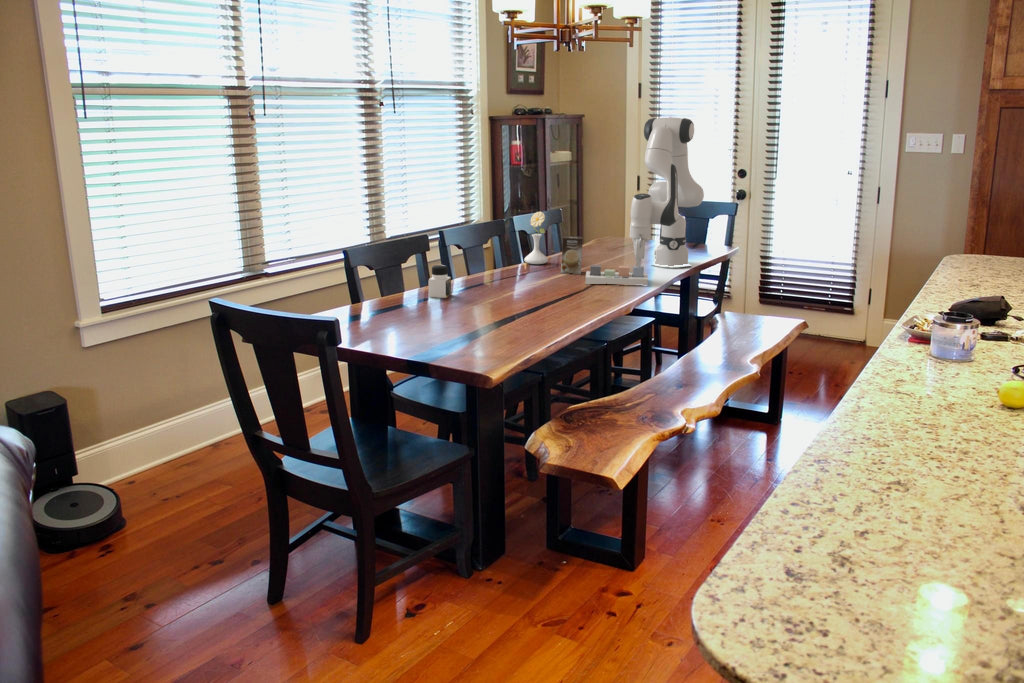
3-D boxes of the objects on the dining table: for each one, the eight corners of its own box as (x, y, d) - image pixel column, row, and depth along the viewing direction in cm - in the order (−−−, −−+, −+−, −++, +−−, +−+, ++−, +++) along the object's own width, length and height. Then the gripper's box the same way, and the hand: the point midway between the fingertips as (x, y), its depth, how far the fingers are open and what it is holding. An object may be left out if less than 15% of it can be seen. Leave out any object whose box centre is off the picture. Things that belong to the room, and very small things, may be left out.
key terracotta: (618, 275, 368) (618, 265, 367) (628, 276, 368) (629, 266, 367) (618, 277, 364) (618, 267, 363) (628, 278, 364) (629, 267, 363)
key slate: (632, 276, 368) (633, 266, 367) (642, 276, 367) (643, 266, 366) (632, 278, 364) (633, 268, 362) (643, 278, 363) (643, 268, 362)
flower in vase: (520, 262, 409) (520, 209, 403) (541, 260, 414) (542, 208, 407) (532, 267, 398) (533, 212, 391) (553, 265, 403) (555, 212, 396)
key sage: (604, 279, 369) (604, 269, 368) (614, 279, 369) (614, 269, 368) (604, 281, 365) (604, 271, 364) (614, 281, 365) (614, 271, 364)
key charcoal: (590, 274, 370) (590, 264, 368) (600, 275, 369) (601, 265, 368) (590, 276, 365) (590, 266, 364) (600, 277, 365) (600, 267, 364)
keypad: (586, 277, 375) (586, 270, 374) (646, 279, 372) (646, 272, 371) (585, 284, 362) (585, 276, 361) (647, 286, 359) (648, 278, 358)
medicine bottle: (446, 298, 332) (445, 267, 329) (428, 297, 334) (428, 266, 331) (451, 294, 339) (450, 264, 336) (433, 293, 341) (433, 263, 337)
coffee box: (560, 273, 384) (561, 237, 379) (561, 271, 390) (562, 235, 385) (581, 274, 383) (582, 238, 378) (581, 271, 389) (582, 236, 385)
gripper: (648, 237, 350) (646, 270, 354) (646, 230, 370) (644, 262, 373) (633, 236, 351) (631, 270, 354) (631, 229, 370) (630, 261, 374)
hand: (638, 265), depth 364 cm, fingers closed
